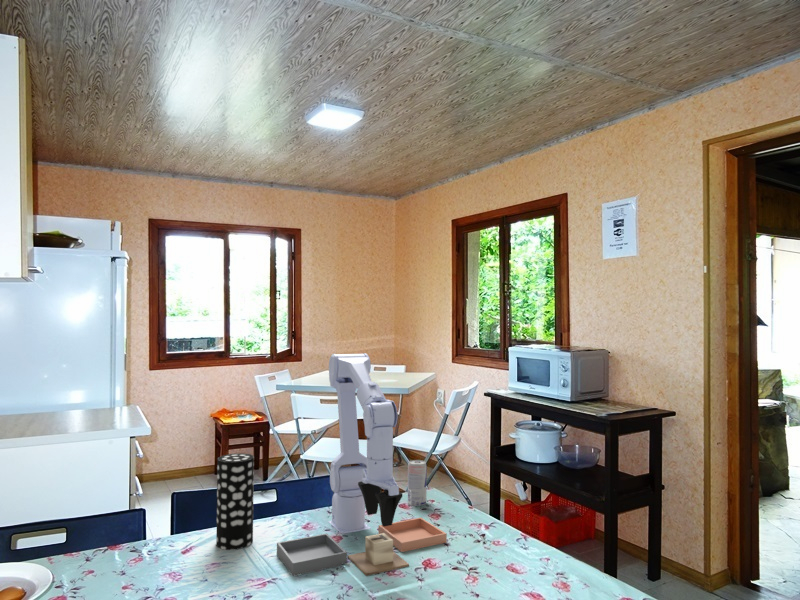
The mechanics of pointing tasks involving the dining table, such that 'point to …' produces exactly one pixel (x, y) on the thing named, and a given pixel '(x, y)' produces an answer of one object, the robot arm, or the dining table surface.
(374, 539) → the letter cube
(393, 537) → the terracotta tray
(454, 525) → the dining table surface
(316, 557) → the charcoal tray
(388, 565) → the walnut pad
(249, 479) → the spotted tube
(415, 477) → the energy drink
